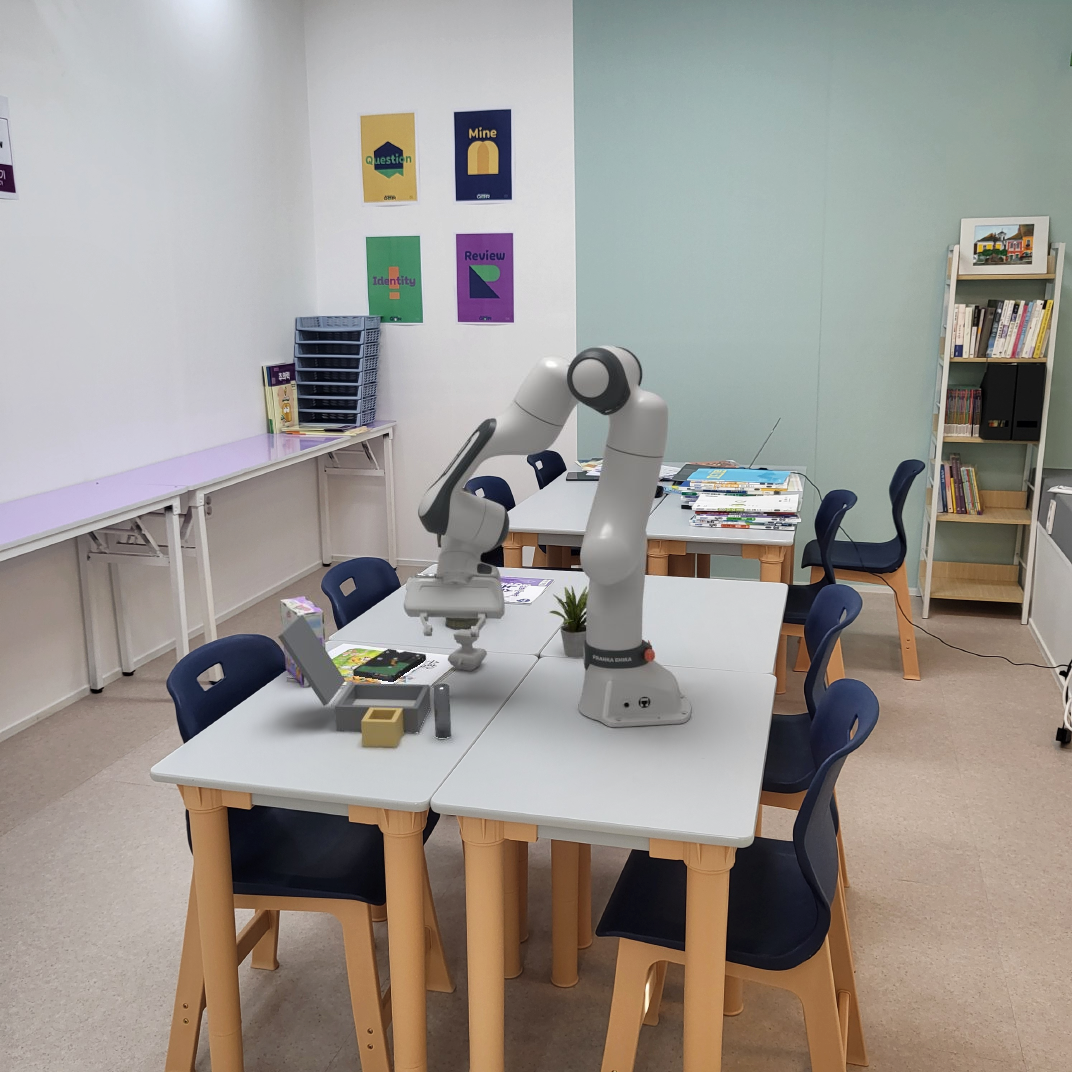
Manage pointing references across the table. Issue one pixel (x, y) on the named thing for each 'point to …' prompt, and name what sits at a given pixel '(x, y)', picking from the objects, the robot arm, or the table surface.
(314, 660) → the case lid
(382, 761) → the table surface
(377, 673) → the disk drive
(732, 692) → the table surface
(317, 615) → the candy box
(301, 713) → the table surface
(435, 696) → the rod
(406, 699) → the case
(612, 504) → the robot arm
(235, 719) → the table surface
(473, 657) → the stamp
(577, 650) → the house plant
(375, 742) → the frame
